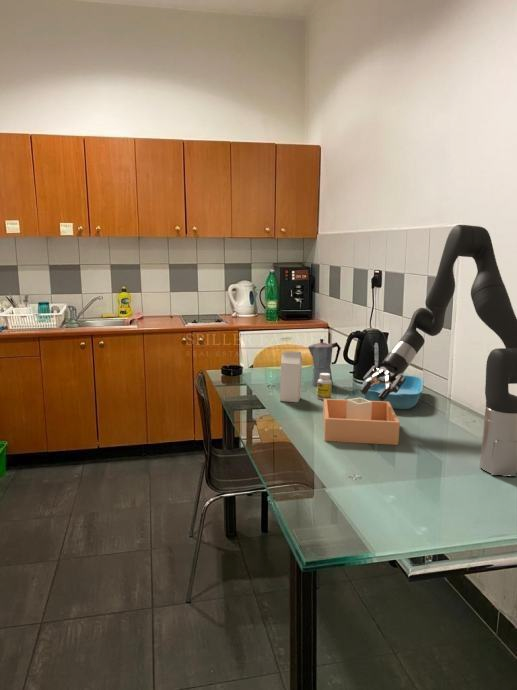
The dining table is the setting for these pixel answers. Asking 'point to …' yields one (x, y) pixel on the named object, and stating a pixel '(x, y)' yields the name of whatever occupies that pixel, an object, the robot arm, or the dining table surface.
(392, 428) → the large crate
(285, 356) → the milk carton
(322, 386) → the supplement bottle
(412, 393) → the casserole dish
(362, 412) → the small crate
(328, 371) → the moka pot
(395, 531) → the dining table surface
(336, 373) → the dining table surface
